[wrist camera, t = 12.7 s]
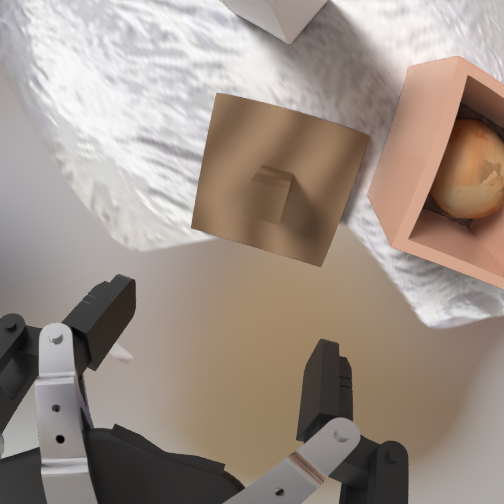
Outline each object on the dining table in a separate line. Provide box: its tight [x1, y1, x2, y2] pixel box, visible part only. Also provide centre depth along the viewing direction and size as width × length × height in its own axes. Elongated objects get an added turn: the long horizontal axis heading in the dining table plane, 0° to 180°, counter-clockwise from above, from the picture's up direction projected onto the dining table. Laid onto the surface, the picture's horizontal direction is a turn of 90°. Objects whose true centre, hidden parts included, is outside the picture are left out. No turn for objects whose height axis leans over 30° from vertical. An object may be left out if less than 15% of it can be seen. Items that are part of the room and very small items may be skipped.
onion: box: [429, 119, 504, 219], centre depth 23 cm, size 10×10×10 cm
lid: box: [191, 93, 370, 267], centre depth 29 cm, size 16×16×7 cm
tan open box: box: [367, 56, 504, 289], centre depth 22 cm, size 15×15×12 cm
